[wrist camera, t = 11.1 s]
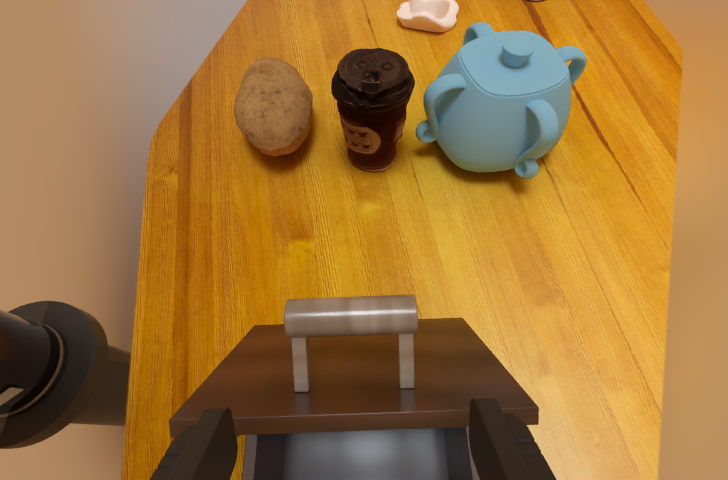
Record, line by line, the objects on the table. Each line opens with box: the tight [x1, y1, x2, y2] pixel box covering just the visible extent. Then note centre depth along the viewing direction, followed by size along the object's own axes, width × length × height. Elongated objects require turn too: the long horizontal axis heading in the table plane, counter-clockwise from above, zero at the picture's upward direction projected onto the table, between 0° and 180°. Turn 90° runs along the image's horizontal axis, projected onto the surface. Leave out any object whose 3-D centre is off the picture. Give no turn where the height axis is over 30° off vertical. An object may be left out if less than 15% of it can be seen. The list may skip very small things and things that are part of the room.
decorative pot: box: [416, 22, 586, 179], centre depth 44 cm, size 16×16×14 cm
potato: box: [234, 57, 312, 156], centre depth 48 cm, size 10×14×8 cm
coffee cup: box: [331, 48, 415, 172], centre depth 43 cm, size 9×8×13 cm
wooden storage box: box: [242, 427, 480, 480], centre depth 30 cm, size 12×16×10 cm
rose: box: [397, 0, 459, 32], centre depth 60 cm, size 10×4×10 cm
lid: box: [169, 295, 539, 437], centre depth 22 cm, size 12×16×5 cm
